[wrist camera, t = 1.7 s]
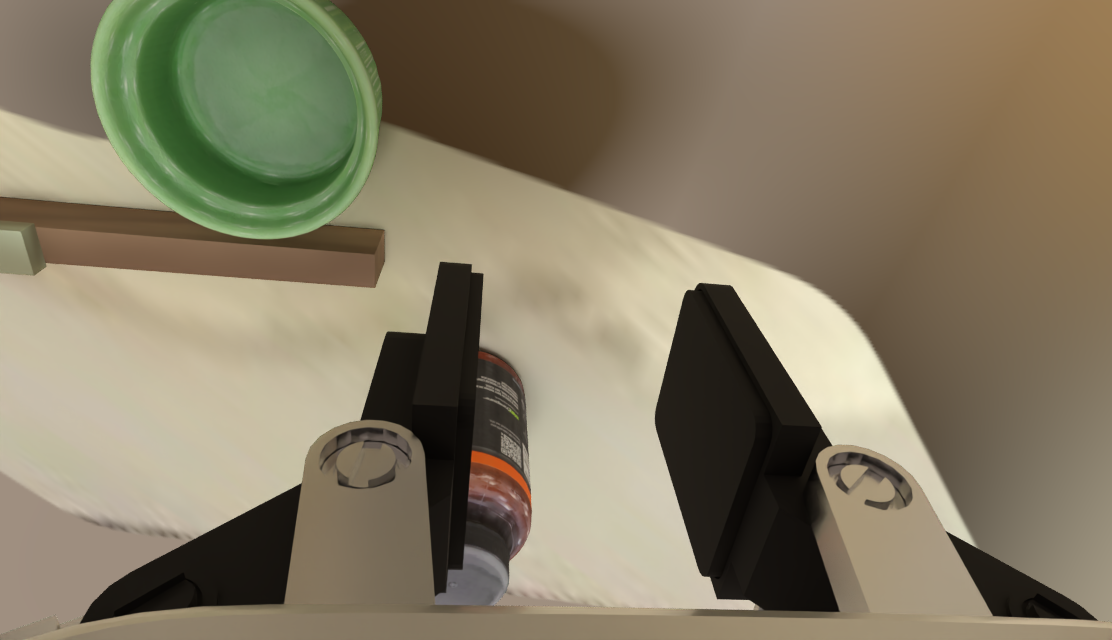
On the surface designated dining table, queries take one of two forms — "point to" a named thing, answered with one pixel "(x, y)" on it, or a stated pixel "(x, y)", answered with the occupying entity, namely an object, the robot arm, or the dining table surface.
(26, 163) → the dining table surface
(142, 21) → the ramekin
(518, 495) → the supplement bottle
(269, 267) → the walnut track
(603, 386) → the dining table surface
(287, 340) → the dining table surface
